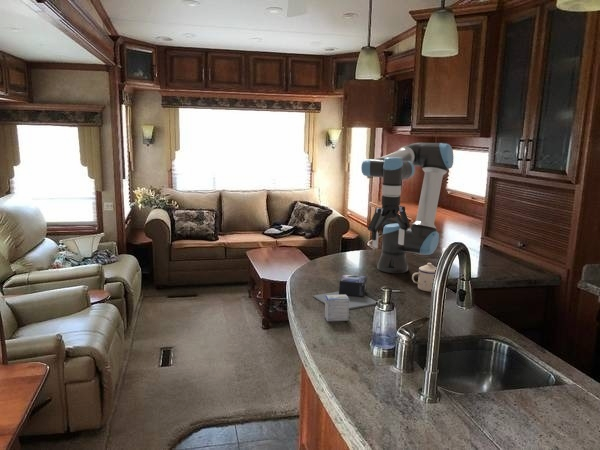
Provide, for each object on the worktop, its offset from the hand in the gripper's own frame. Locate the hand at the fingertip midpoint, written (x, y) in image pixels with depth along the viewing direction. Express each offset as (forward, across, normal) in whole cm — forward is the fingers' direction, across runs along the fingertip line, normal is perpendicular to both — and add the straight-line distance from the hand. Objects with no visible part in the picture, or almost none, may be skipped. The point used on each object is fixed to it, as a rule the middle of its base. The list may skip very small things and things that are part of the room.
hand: (388, 246), depth 198 cm
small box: (+17, +9, -2) cm, 19 cm away
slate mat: (+21, +20, 0) cm, 29 cm away
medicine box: (+21, +34, +15) cm, 43 cm away
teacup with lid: (+21, -20, +2) cm, 29 cm away
